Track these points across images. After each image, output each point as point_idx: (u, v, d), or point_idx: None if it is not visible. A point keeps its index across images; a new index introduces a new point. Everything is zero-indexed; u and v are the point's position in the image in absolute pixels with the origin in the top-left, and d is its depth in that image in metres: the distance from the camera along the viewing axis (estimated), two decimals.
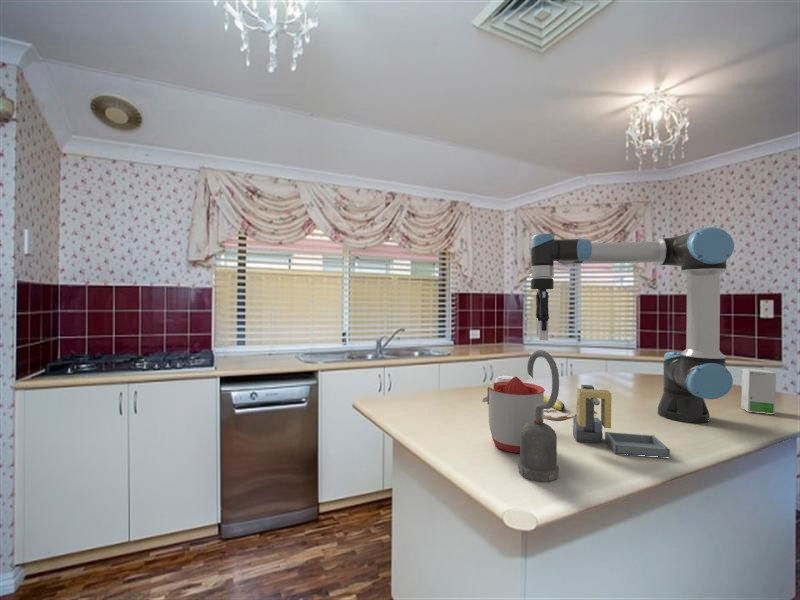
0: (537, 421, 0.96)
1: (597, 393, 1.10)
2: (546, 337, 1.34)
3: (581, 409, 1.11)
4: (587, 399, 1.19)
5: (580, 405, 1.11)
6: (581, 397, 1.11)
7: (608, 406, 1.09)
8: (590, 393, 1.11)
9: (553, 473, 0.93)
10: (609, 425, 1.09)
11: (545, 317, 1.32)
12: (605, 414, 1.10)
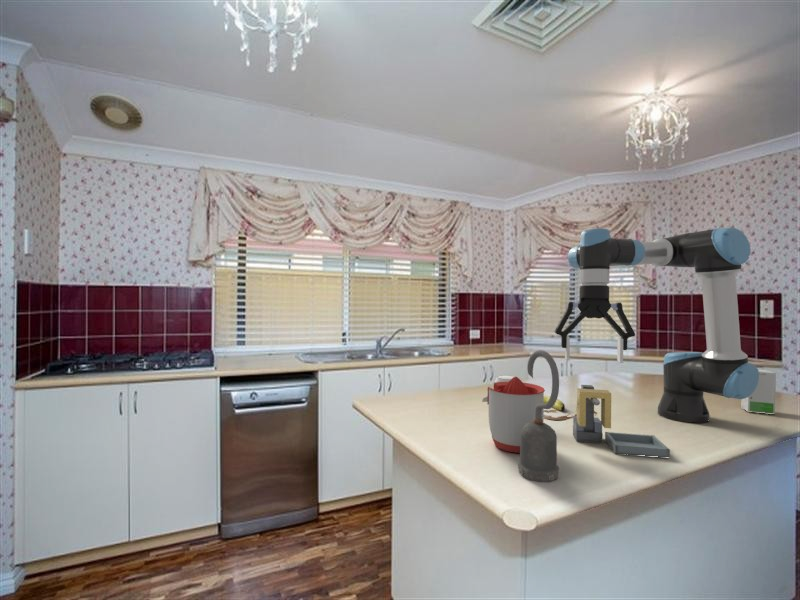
0: (537, 421, 0.96)
1: (597, 393, 1.10)
2: (566, 356, 1.13)
3: (581, 409, 1.11)
4: (587, 399, 1.19)
5: (580, 405, 1.11)
6: (581, 397, 1.11)
7: (608, 406, 1.09)
8: (590, 393, 1.11)
9: (553, 473, 0.93)
10: (609, 425, 1.09)
11: (555, 331, 1.14)
12: (605, 414, 1.10)
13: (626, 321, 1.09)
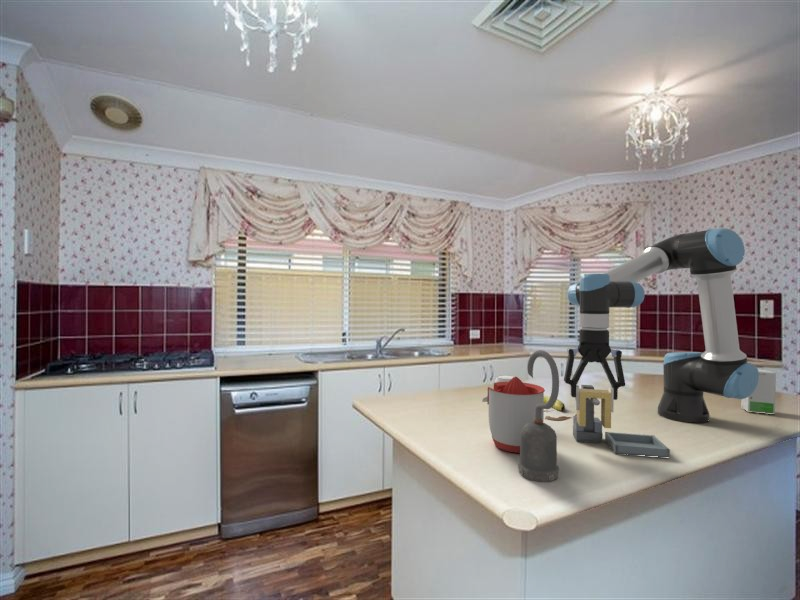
0: (537, 421, 0.96)
1: (597, 393, 1.10)
2: (575, 405, 1.13)
3: (581, 409, 1.11)
4: (587, 399, 1.19)
5: (580, 405, 1.11)
6: (581, 397, 1.11)
7: (609, 406, 1.09)
8: (590, 393, 1.11)
9: (553, 473, 0.93)
10: (609, 425, 1.09)
11: (564, 380, 1.14)
12: (605, 414, 1.10)
13: (620, 370, 1.09)
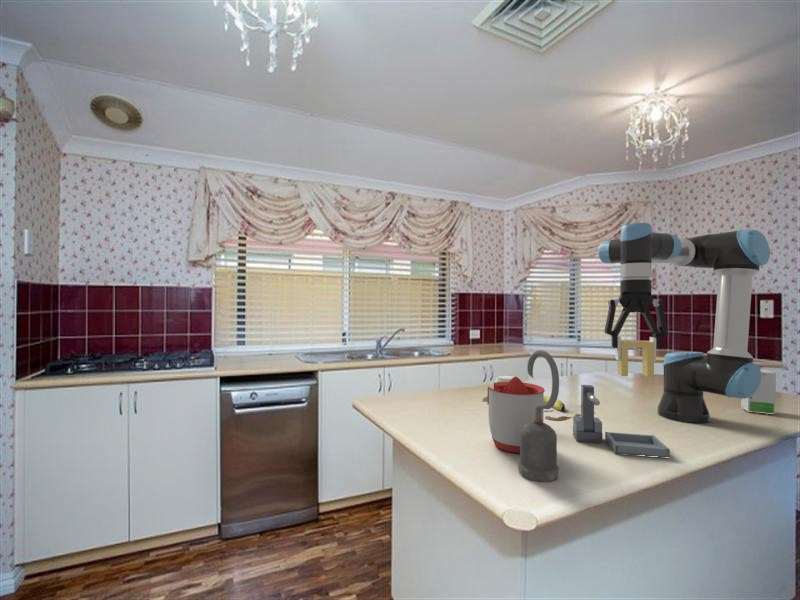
0: (537, 421, 0.96)
1: (639, 342, 1.10)
2: (617, 356, 1.13)
3: (623, 359, 1.11)
4: (587, 399, 1.19)
5: (622, 355, 1.11)
6: (623, 347, 1.11)
7: (651, 355, 1.09)
8: (632, 343, 1.11)
9: (553, 473, 0.93)
10: (652, 374, 1.09)
11: (605, 331, 1.14)
12: (648, 363, 1.10)
13: (663, 319, 1.09)
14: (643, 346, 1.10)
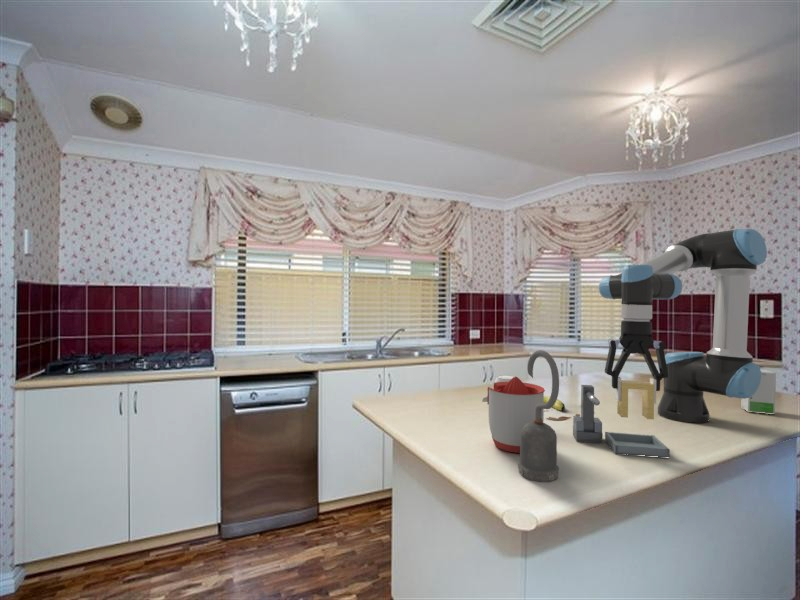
0: (537, 421, 0.96)
1: (640, 384, 1.10)
2: (617, 397, 1.13)
3: (623, 400, 1.11)
4: (587, 399, 1.19)
5: (622, 396, 1.11)
6: (623, 388, 1.11)
7: (651, 397, 1.09)
8: (632, 384, 1.11)
9: (553, 473, 0.93)
10: (652, 416, 1.09)
11: (606, 371, 1.14)
12: (648, 405, 1.10)
13: (663, 361, 1.09)
14: (643, 388, 1.10)
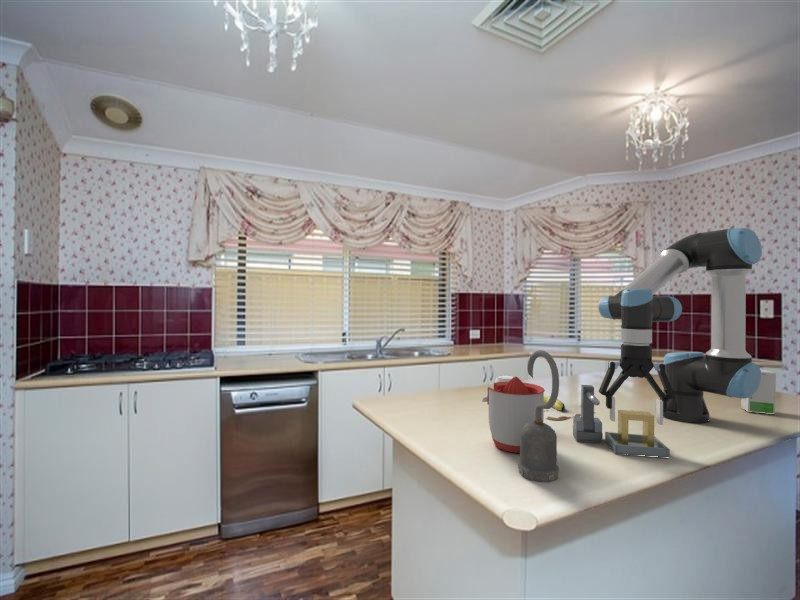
0: (537, 421, 0.96)
1: (640, 415, 1.10)
2: (611, 417, 1.13)
3: (623, 432, 1.11)
4: (587, 399, 1.19)
5: (622, 427, 1.11)
6: (623, 419, 1.11)
7: (652, 428, 1.10)
8: (632, 416, 1.11)
9: (553, 473, 0.93)
10: None
11: (600, 391, 1.14)
12: (648, 436, 1.10)
13: (667, 383, 1.09)
14: (643, 419, 1.10)
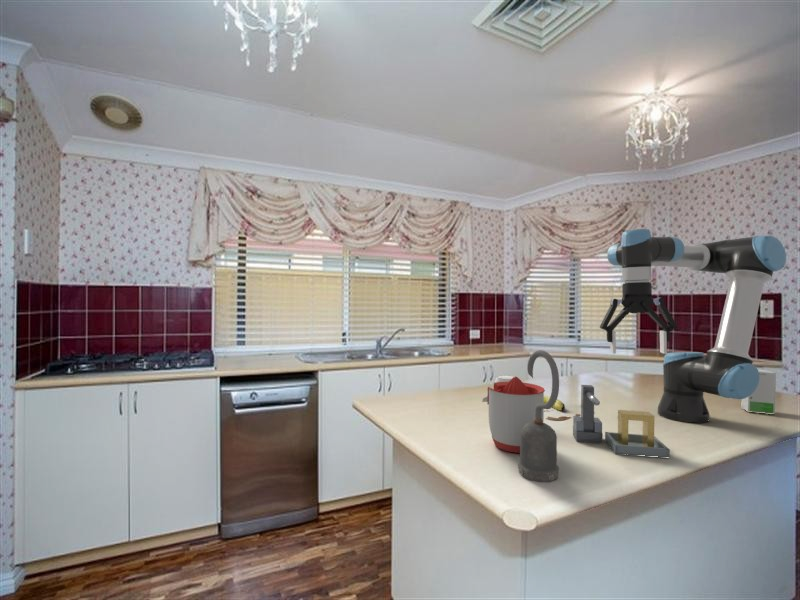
0: (537, 421, 0.96)
1: (640, 415, 1.10)
2: (612, 349, 1.20)
3: (623, 432, 1.11)
4: (587, 399, 1.19)
5: (622, 427, 1.11)
6: (623, 419, 1.11)
7: (652, 428, 1.10)
8: (632, 416, 1.11)
9: (553, 473, 0.93)
10: None
11: (601, 327, 1.21)
12: (648, 436, 1.10)
13: (668, 315, 1.17)
14: (643, 419, 1.10)
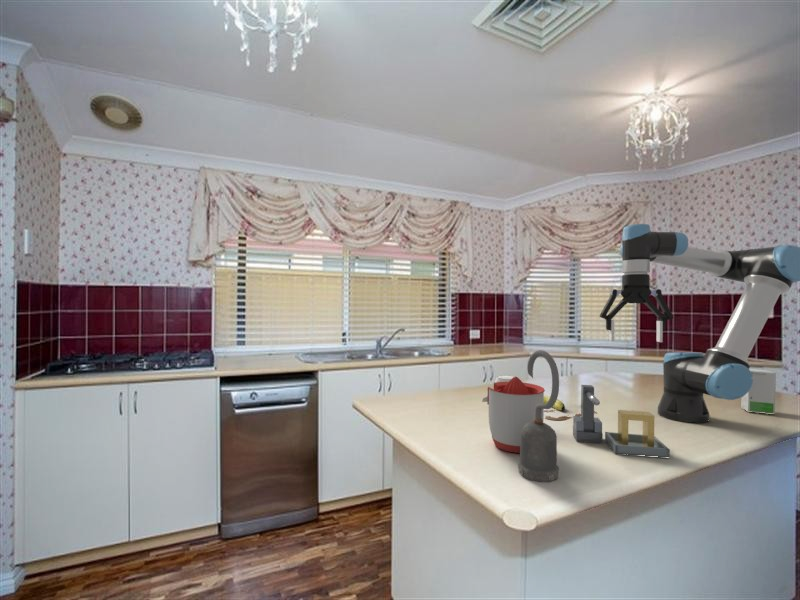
0: (537, 421, 0.96)
1: (640, 415, 1.10)
2: (611, 337, 1.28)
3: (623, 432, 1.11)
4: (587, 399, 1.19)
5: (622, 427, 1.11)
6: (623, 419, 1.11)
7: (652, 428, 1.10)
8: (632, 416, 1.11)
9: (553, 473, 0.93)
10: None
11: (600, 315, 1.29)
12: (648, 436, 1.10)
13: (665, 305, 1.23)
14: (643, 419, 1.10)
